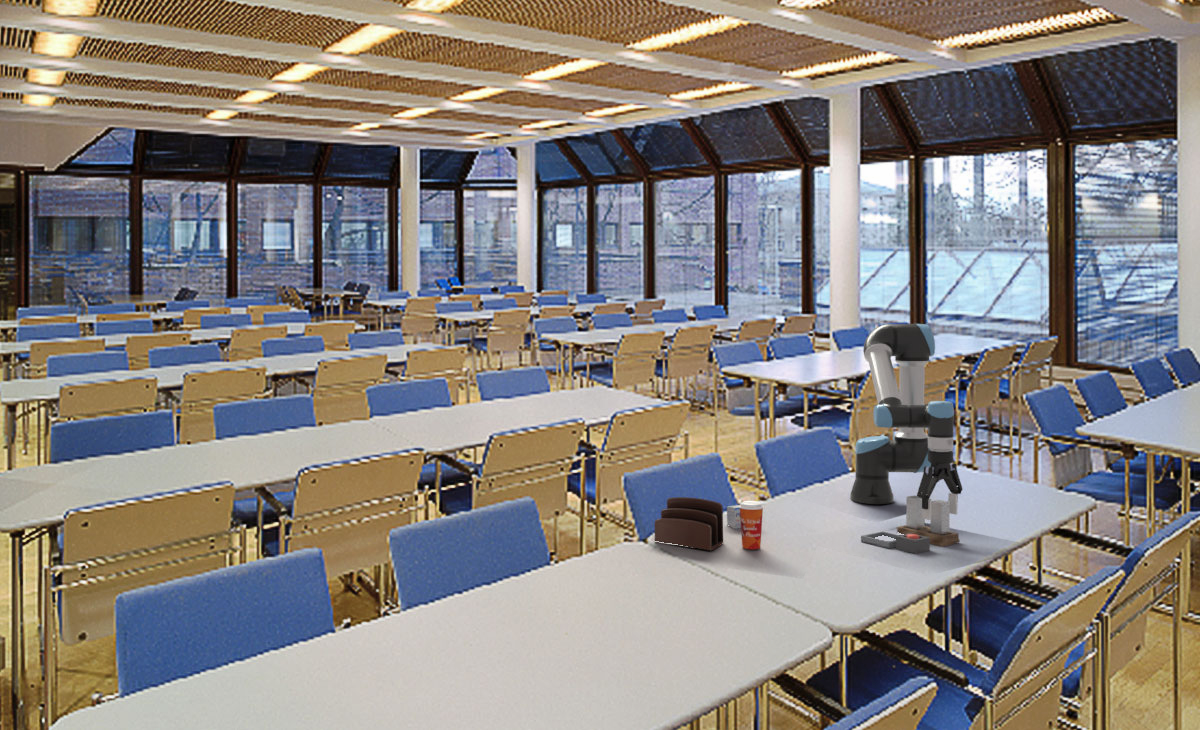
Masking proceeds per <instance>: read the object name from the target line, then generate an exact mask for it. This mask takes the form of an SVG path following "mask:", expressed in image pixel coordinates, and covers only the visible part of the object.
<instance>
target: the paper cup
mask: <svg viewBox="0 0 1200 730" xmlns="http://www.w3.org/2000/svg"><path fill="white" fill-rule="evenodd" d="M738 505H739V508H740V520H741V528H740V531H741V546H742V548H743V549H744V550H745V549H746V550H758V549H760V548H761V544H762V530H763V529H762V527H763V525H762V524H763V509H764V508H765V506H764V504H763V503H762V501H759V500H758V501H757V500H743V501H741V502H740V503H739V504H738Z"/></svg>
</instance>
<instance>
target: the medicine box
mask: <svg viewBox="0 0 1200 730" xmlns="http://www.w3.org/2000/svg"><path fill="white" fill-rule="evenodd" d="M739 505H740V504H738V505H737V504H736V505H728V506H726V526H727V525H729V526H730V528H731V527H732V528H731V529H733V528H737V529H741V520H740V508H739ZM729 526H728V527H729Z"/></svg>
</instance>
